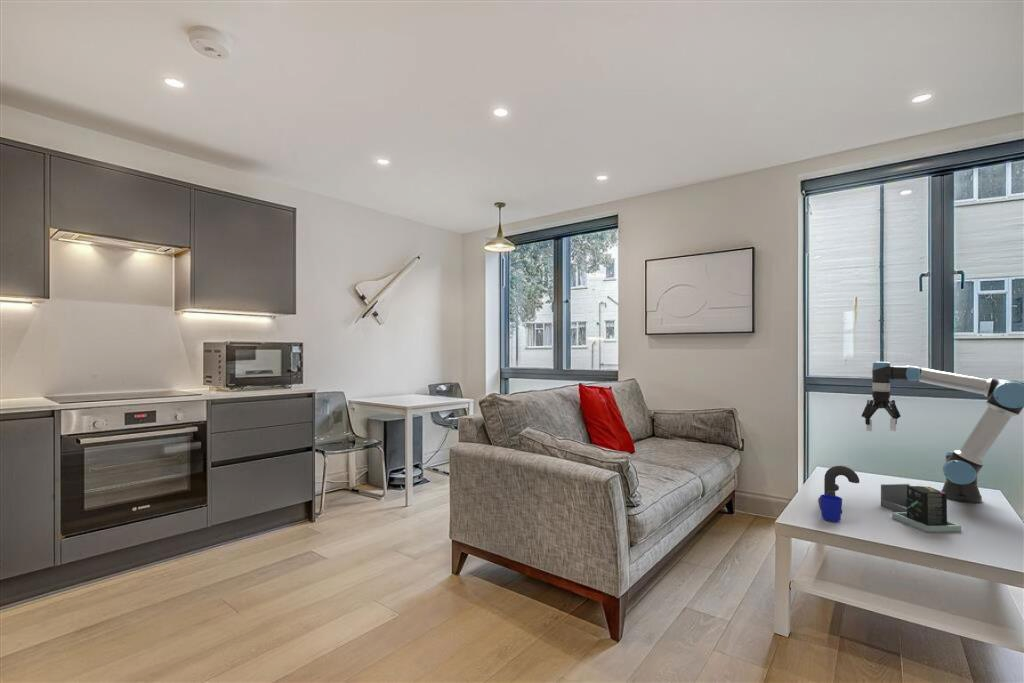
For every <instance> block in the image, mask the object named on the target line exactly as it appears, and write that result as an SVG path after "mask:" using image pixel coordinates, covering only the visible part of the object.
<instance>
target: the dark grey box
mask: <svg viewBox="0 0 1024 683" xmlns="http://www.w3.org/2000/svg"><path fill="white" fill-rule="evenodd" d="M947 499H948V498H947V494H946V493H944V492H941V490H939V489H935V488H934V487H930V486H923V485H922V486H921V485H910V486H907V505H906V508H907V518H909V519H912V520H914V521H917V522H919V523H922V524H924V525H927V526H942V525H947V521H948V505H947V504H948V500H947Z"/></svg>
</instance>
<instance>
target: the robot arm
mask: <svg viewBox="0 0 1024 683" xmlns="http://www.w3.org/2000/svg"><path fill="white" fill-rule="evenodd" d="M871 373H872V374H871V375H872V378H871V379H872V380H871V381H872V382H871V383H872V388H871V389H872V391H871V392H872V393H871V394H872V395H871V396H872V398H873V399H867V401H866V406H865V407H864V410H863V412H862V413H861V418H864V419H865V420H864V421H865V426H866V431H867V432H872V431H873V419H872V417H873V416H874V414H875V413H876V412H877V411H878V410H879V409H884V410H885V412H887V413H888V415H889V416H890V418H889V423H890V424H889V431H892V432H896V431H897V424H898V423H897V422H898V421H897V420H898V419H900V418H901V412H899V410H898V407H897V405H896V400H895V399H890V398H891V381H901V382H902V381H904V382H905V381H906V382H920V383H923V384H924V383H925V384H929V385H935V386H939V387H945V388H949V389H954V390H959V391H965V392H969V393H975V394H978V395H984V397H985V398H988V399H987V400H986V405H987V408H986V409H985V411H984V412H983V413H982V416H980V418H979V420H978V422H977V423H976V424H975V425H974V427H973V429H972V430H971V432H970V433H969V435H968V436H967V437H966V440H965V441H964V442H963V444H962V445H961V447H960V448H959V449H956V450H952V451H950V450H949V451H946V453H945V463H944V464H943V465H942V472H943V475H944V477H945V482H944V484H943V486H942V489H941V490H940V491H941V492H944V493H946V494H947V499H949V500H952V501H957V502H962V503H971V504H972V503H973V504H977V503H978V504H980V503H983V496H982V495H981V492H980V490H979V487H978V474H979V472H980V471H981V469H982V468H983V466H984V465H985V464H984V462H983V460H984V457H985V456H986V455H987V453H988V452H989V450H990V449H991V447H992V446H993V445H994V443H995V441H996V440H998V437H999V435H1000V434H1001V433H1002V431H1003V430H1004V429H1005V427H1006V425H1007V424H1008V423H1009V421H1010V420H1011V419H1012V417H1015V416H1019V415H1020V413H1022V410H1023V409H1024V383H1023V382H1020V381H1018V380H1011V379H999V378H992V377H991V378H988V379H986V378H980V377H976V376H971V375H970V376H969V375H964V374H959V373H954V372H947V371H943V370H942V371H941V370H936V369H933V368H931V369H930V368H926V367H920V366H916V365H915V366H914V365H910V364H907V365H891V362H889V361H874V362H873V363H872V370H871Z"/></svg>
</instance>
